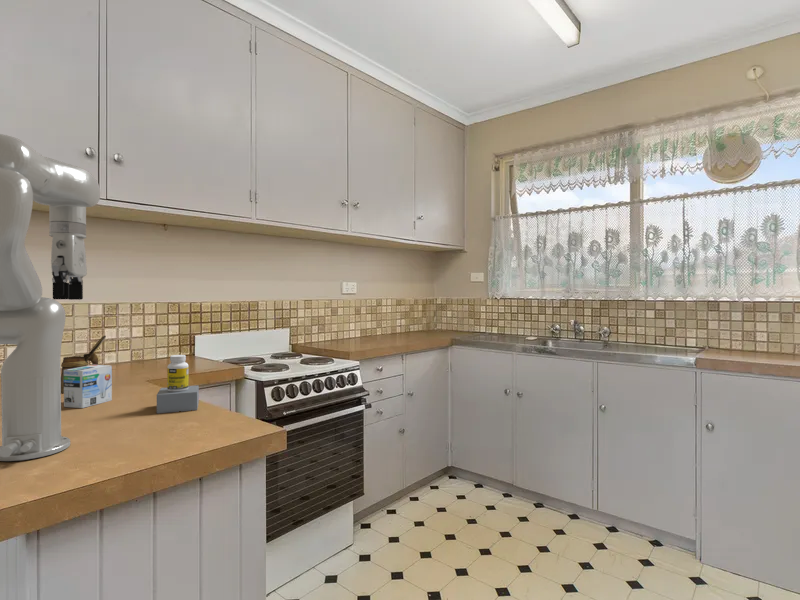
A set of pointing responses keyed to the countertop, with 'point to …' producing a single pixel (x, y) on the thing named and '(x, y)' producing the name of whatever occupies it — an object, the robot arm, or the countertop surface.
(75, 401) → the light bulb box
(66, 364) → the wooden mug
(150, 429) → the countertop surface
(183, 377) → the supplement bottle
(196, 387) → the riser base
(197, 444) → the countertop surface
